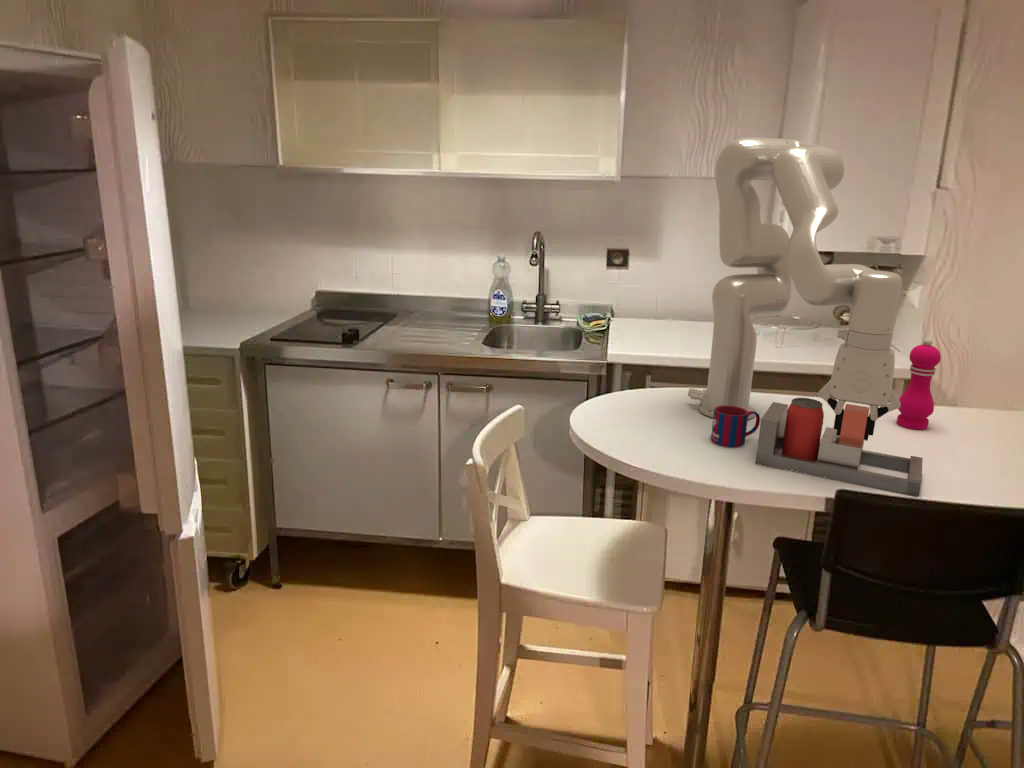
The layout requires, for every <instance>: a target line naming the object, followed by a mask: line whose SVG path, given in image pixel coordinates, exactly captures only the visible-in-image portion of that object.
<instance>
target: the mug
mask: <svg viewBox="0 0 1024 768" xmlns="http://www.w3.org/2000/svg"><path fill="white" fill-rule="evenodd" d="M751 414H755V417H756V418H755V420H756V421H755V424H754V426H753V427H752V429H750V430H749V431H747V426H748V420H749V419H748V416H749V415H751ZM712 418H713V420H712V425H711V435H710V436H711V437H710V441H711V443H713V444H715V445H718V446H721V447H724V448H740V447H743V446H744V445H745V444H746V443H745V442H746V437H748V436H751V435H752V434H754V433H755V432H756V431H757V430H758V428H759V427H760V423H761V417H760V414H759V413H758V412H756V410H755V411H749V412H748V411H747V410H745V409H743V408H740V407H736V406H728V405H723V406H717V407H715V409H714V417H712Z"/></svg>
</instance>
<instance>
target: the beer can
mask: <svg viewBox="0 0 1024 768" xmlns="http://www.w3.org/2000/svg"><path fill="white" fill-rule="evenodd" d="M823 406H824V405H823V402H821V401H820V400H818V399H817V400H816V399H813V398H809V397H795V398H792V399H791V403H790V405H788V410H787V417H786V424H785V431H784V438H783V445H782V449H781V451H780V452H781V453H780V454H781V455H786V456H791V457H796V458H802V459H807V460H812V461H817V460H818V451H819V444H820V441H821V439H822V437H821V436H822V430H823V425H824V418H825V415H824V408H823Z"/></svg>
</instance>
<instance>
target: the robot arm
mask: <svg viewBox="0 0 1024 768" xmlns="http://www.w3.org/2000/svg"><path fill="white" fill-rule="evenodd" d="M844 175H845V164H844V161H843V158H842V157H841V155H840V153H838V152H837V151H836V150H835V149H833V148H831V147H829V146H823V145H819V144H814V143H810V142H806V141H801V140H798V139H797V140H796V139H791V138H789V139H788V138H776V137H775V138H772V137H771V138H770V137H755V136H753V137H752V136H751V137H742V138H737V139H734V140H732V141H730V142H729V143H728V144H726V145H725V146H724V147H723V148H722V150H721V151H720V153H719V154H718V158H717V160H716V164H715V170H714V178H715V187H716V190H717V195H718V197H717V198H718V206H719V213H718V214H719V215H718V216H719V218H718V220H719V222H718V223H719V224H718V228H719V229H718V231H719V232H718V233H719V238H718V239H719V241H718V242H719V244H718V245H719V246H718V247H719V256H720V260H721V262H722V263H723V265H725V266H726V267H730V268H734V269H735V268H736V269H753V268H757V269H756V271H757V273H742V274H741V273H740V274H739V273H738V274H731V275H727V276H724V277H723V278H721V279H720V280H719V281H717V283H715V285H714V287H713V290H712V293H711V294H712V298H711V300H712V301H711V302H712V310H713V311H712V312H713V331H712V339H711V340H712V341H711V350H710V351H711V352H710V358H709V359H710V361H709V370H708V378H707V388H706V389H702V390H701V389H700V390H699V389H697V388H689V389H688V393H687V396H688V397H690V399H691V400H696V401H697V400H698V401H700V402H699V403H698V406H697V407H698V408H697V410H698V411H699V412H700V413H701V414H702V415H705V416H707V417H711V418H713V417H714V409H715V407H717V406H723V405H728V406H736V407H740V408H743V409H745V410H747V411H748V412H749V411H755V412H756V410H755V408H754V407H753V406H751V405H750V401H751V400H750V398H751V390H752V382H753V377H754V375H753V374H754V366H755V358H756V352H757V351H756V350H757V341H758V337H757V333H756V329H755V327H754V325H753V322H752V318H761V317H772V316H777V315H780V314H782V313H784V312H785V310H786V309H787V307H788V306H789V303H790V300H791V297H792V295H791V294H792V281H793V284H794V287H795V288H796V291H797V292H798V295H799V296H800V297H801V299H803V301H804V302H806V303H807V304H808V305H810V306H813V307H831V306H850V310H849V316H848V323H847V328H846V329H843V330H839V329H838V331H837V338H840V339H842V340H843V341H844V343H843V342H842V343H841V344H840V345H839V348H838V350H837V353H836V356H835V359H834V363H833V368H832V373H831V379H829V380H828V382H827V383H826V384H825V385H823V387H822V388H821V389H820V390H818V393H817V394H818V396H819V397H820V398H821V399H822V400H823V401H825V402H826V403H827V405H829V407H830V408H831V409H832V410H833V413H834V414H835V415H834V422H833V428H834V429H837V434H836V435H838V436H839V435H840V433H841V427H842V421H843V415H844V409H845V405H846V402H848V403H854V404H860V405H866V406H869V407H870V408H869V414H868V418H867V423H866V428H865V434H864V441H868V440H869V436H873V435H874V431H875V425H876V422H877V420H878V419H879V418H881V417H882V416H885V415H886V414H887V413H889V412H893V411H895V410H898V408H900V405H901V403H900V401H899V399H900V398H899V397H898V396H897V394H896V392H895V389H894V388H893V383H894V373H895V360H896V359H895V351H894V350H893V349H892V348H891V346H892V341H893V336H894V330H895V325H896V319H897V313H898V308H899V303H900V296H901V291H902V286H903V285H902V284H903V281H902V278H901V275H900V274H898V273H895V272H892V271H886V270H876V269H874V268H872V267H868V266H866V265H864V264H858V263H847V264H845V263H844V264H843V263H841V264H839V263H837V264H835V263H834V264H824V262H823V260H822V258H821V256H820V253H819V249H818V248H817V247H818V246H817V243H816V241H817V240H816V239H817V238H816V237H817V233H818V232H819V233H820V232H821V231H822V230H824V229H825V228H827V227H828V226H830V225H831V224H832V223H833V222H834V221H835V220H836V218H837V217H838V215H839V208H838V206H837V203H836V200H835V198H834V197H833V194H832V191H831V190H833V189H835V188H837V187H838V186H839V184H840V183H841V182H842V180H843V178H844ZM752 181H774V183H775V186H776V188H777V190H778V193H779V195H780V198H781V200H782V203H783V205H784V208H785V210H786V212H787V215H788V217H789V220H790V223H791V225H792V229H793V230H792V232H791V235H790V236H789V234H788V232H787V230H786V229H785V228H784V227H782V226H781V225H779V224H775V223H762V221H761V201H760V198H759V195H758V193H757V191H756V189H755V188H754V186H753V185H752V183H751V182H752ZM754 417H756V415H755V414H751V415H749V416H748V420H750V419H752V418H754Z"/></svg>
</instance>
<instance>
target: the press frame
mask: <svg viewBox="0 0 1024 768" xmlns="http://www.w3.org/2000/svg"><path fill="white" fill-rule="evenodd" d="M788 408H789V404H786V403H781V402H775V401H772V402H771V404H770V405H769V407H768V408H767V410H766V411H765V413H764V415H763V416H762V417H761V418H760V423H759V431H758V439H757V447H756V455H755V462H754V463H756V464H755V465H759V464H761V465H760V466H764V465H765V466H764V467H769V466H770V468H774V467H775V469H779V468H780V470H784V469H787V470H786V471H789V470H793V471H792V472H794V471H798V472H797V473H799V472H802V473H801V474H804V473H807V474H806V475H809V474H811V475H810V476H814V475H816V476H815V477H819V476H820V477H819V478H824V477H826V478H825V479H829V478H830V480H833V479H835V481H838V480H840V481H839V482H843V481H845V483H848V482H849V484H853V485H858V486H864V487H868V488H873V489H879V490H883V491H889V492H894V493H899V494H905V495H909V496H913V497H919V496H920V491H921V487H922V482H923V459H924V457H920V456H915V455H910V458H908V457H903V456H897V455H892V454H887V453H882V452H875V451H870V450H866V449H865V450H864V449H863V451H862V456H861V462H860V465H861V464H862V465H867V466H870V467H871V466H872V467H877V468H882V469H886V470H893V471H898V472H904V473H907V477H906V478H904V477H900V476H893V475H888V474H883V473H879V472H874V471H873V472H872V471H870V470H869V471H867V470H862V469H859V470H858V469H853V468H848V467H843V466H838V465H833V464H827V463H822V462H817V461H812V460H807V459H802V458H796V457H791V456H786V455H781V453H780V452H781V451H782V445H783V438H784V431H785V424H786V417H787V410H788ZM819 448H820V444H819ZM818 454H819V451H818Z"/></svg>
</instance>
